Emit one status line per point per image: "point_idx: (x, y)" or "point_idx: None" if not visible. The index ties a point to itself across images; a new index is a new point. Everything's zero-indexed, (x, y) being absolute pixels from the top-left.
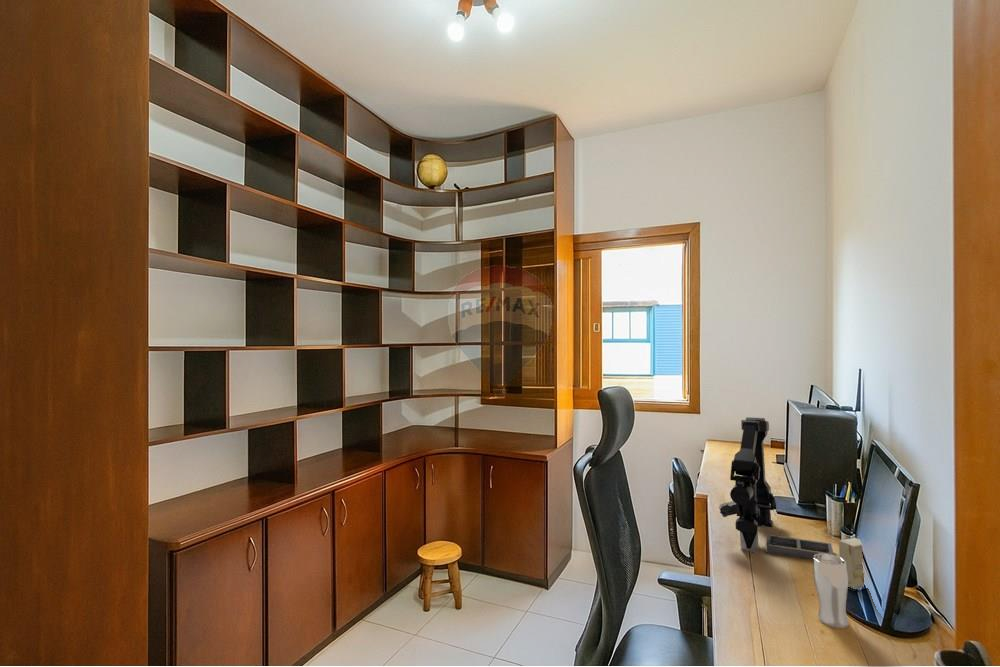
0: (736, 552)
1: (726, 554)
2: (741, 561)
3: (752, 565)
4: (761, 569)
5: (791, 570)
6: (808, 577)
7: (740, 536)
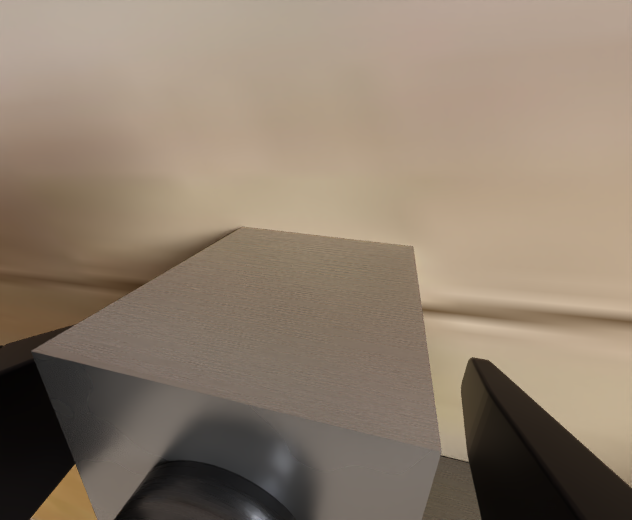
0: (159, 183)
1: (59, 81)
2: (21, 221)
3: (18, 288)
4: (7, 330)
5: None
6: (76, 492)
7: (132, 300)
